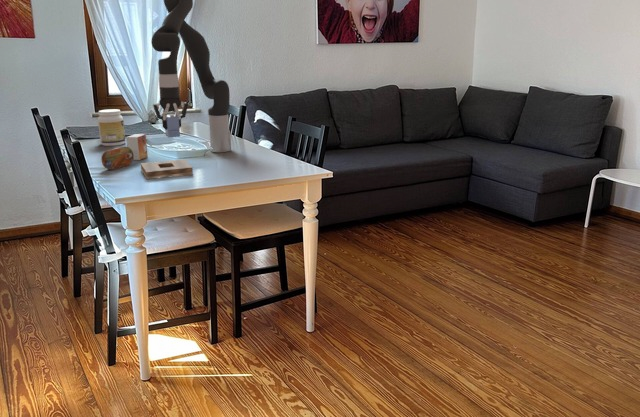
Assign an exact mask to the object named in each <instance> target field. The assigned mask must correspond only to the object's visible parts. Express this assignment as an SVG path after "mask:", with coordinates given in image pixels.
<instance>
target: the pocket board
mask: <svg viewBox="0 0 640 417" xmlns="http://www.w3.org/2000/svg"><path fill="white" fill-rule="evenodd" d="M140 170H141V172H142V174H143V173H144V174H143V175H144V177H145V176H146V177H145V178H147V179H146V180H151V179H150V178H157V179H160V178H159V177H166V178H170V177H169V176H175V177H182V176H181V175H185V176H192V175H193V174H194V172H193V167H192V165H191V164H190V163H188V162H187V161H186V159H184V158H183V159H182V158H181V159H174V160H163V161H151V162H141V163H140Z"/></svg>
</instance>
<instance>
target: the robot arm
mask: <svg viewBox="0 0 640 417" xmlns="http://www.w3.org/2000/svg"><path fill="white" fill-rule="evenodd" d="M163 4H164V5H165V6H164V7H165V9H166V11H167V15H166V16H165V17H164V19H163V21H162V23H161V26H160V27H158V29H157V30H155V32H153V35H152V37H151V46H152V48H153V49H154V50H155V51H156V52H159V53H163V52H166V53H169V56H167V57H163V58H159V59H158V62H157V66H158V86H159V101H158V102H157V103H153V104H152V107H153V110H154V112H155V115H156V118H157V119H158V120H161V121H162V128H163V129H164V130H167V120H166V117H167V115H169V114H168V113H170V112H172V113H173V112H174V115H177V116H178V117H179V129H181V127H182V119H183V118H185V117H186V114H187V110H188V106H189V104H188V102H184V101H182V100H181V97H180V82H179V75H178V58H179V57H178V56H179V50H180V46H181V40H182V43H183V46H184V47H185V50H186V52H187V55H188V56H189V58H190V60H191V64H192V65H193V67H194V70H195V72H196V74H197V77H198V80H199V83H200V87H201V89H202V92H203V93H204V96H205V98H207V99H209V100H213V105H212V106H211V107H209V108H208V109H207V115H208V131H209V147H212V148H213V149H212V150H211V149H210V152H213V153H226V152H231V151H232V136H231V134H232V133H231V130H230V123H229V122H230V121H229V109H230V98H231V97H230V86H229V84H228V82H227V81H225V80H223V79H215V77H214V75H213V73H212V70H211V68H210V58H211V56H210V55H211V53H210V49H209V47H208V44H207V42H206V40H205V37H204V36H203V35H202V34H201V33H200V32H199V31H197V30H196V29H195V28H194V27H193V26H191V25H190V24H188V22H186V20H185V19H186V18H187V17H188V15H189V13H190V12H191V11H192V9H193V6H194V1H193V0H163ZM179 36H180V37H179ZM180 38H181V39H180ZM180 106H181V108H182V109H181V114H180V111H179V108H180ZM160 107H161V108H162V109H163V111H162V115H161V113H160V111H159V109H160Z"/></svg>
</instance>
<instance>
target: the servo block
mask: <svg viewBox="0 0 640 417" xmlns="http://www.w3.org/2000/svg"><path fill="white" fill-rule="evenodd" d="M166 120H167V130H165V129H164V130H165V136H166V137H167V138H180V137H181V131H180V129H181V128H180V129H179V117H178V116H177V115H176V114H175V113H170V114H167V117H166Z"/></svg>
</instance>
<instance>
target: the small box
mask: <svg viewBox="0 0 640 417" xmlns="http://www.w3.org/2000/svg"><path fill="white" fill-rule="evenodd" d="M125 140H126V141H125V142H126V147H129V148H130V149H131V150H132V152H133V156H134V157H133V161H141V160H143V159H145V158H148V147H147V145H148V144H147V135H146V133H145V134H144V133H133V134H132V135H129V136H125Z"/></svg>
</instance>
